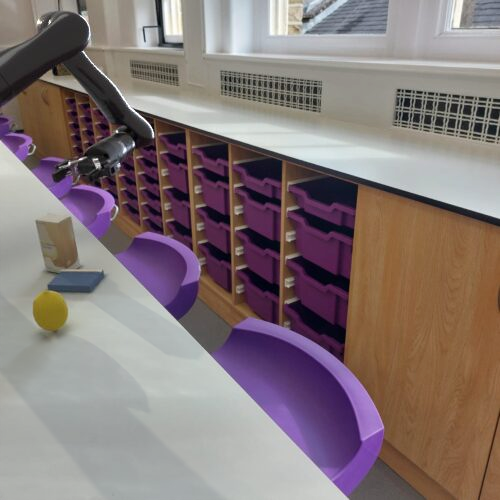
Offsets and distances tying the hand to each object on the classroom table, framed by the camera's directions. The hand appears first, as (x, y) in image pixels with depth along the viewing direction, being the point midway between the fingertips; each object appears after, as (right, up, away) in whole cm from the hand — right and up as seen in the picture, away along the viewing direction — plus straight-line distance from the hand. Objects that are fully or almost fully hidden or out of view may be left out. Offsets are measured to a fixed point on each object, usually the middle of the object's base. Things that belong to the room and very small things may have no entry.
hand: (71, 179), depth 108 cm
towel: (+4, -23, -7) cm, 24 cm away
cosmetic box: (-1, -20, 0) cm, 20 cm away
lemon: (+6, -30, -23) cm, 38 cm away
